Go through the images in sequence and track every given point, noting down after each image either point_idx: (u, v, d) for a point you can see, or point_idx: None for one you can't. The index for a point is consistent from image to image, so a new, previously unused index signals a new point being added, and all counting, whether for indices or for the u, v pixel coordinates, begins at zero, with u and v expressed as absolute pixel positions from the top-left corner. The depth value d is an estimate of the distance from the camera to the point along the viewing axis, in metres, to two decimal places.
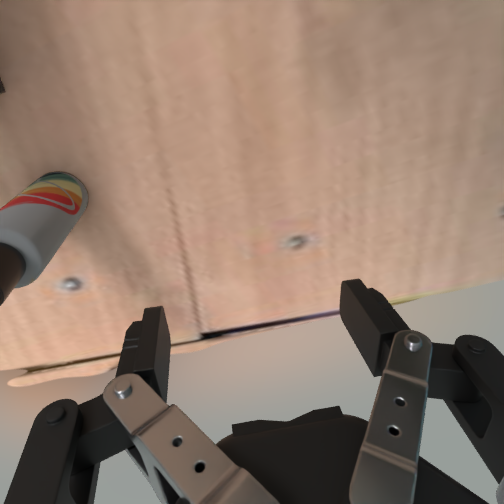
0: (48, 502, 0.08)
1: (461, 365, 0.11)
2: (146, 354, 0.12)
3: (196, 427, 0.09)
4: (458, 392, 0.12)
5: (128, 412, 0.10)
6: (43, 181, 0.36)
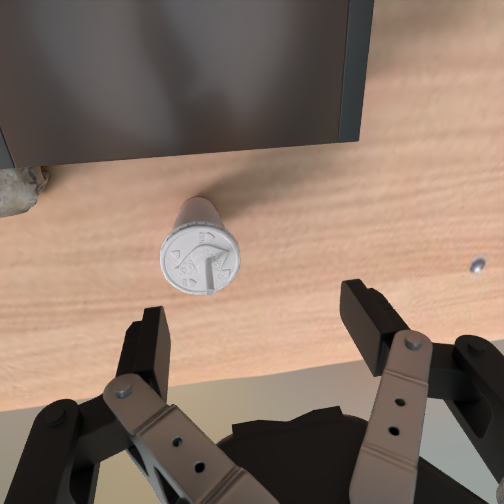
0: (48, 502, 0.08)
1: (461, 365, 0.11)
2: (146, 354, 0.12)
3: (196, 427, 0.09)
4: (458, 392, 0.12)
5: (128, 412, 0.10)
6: None
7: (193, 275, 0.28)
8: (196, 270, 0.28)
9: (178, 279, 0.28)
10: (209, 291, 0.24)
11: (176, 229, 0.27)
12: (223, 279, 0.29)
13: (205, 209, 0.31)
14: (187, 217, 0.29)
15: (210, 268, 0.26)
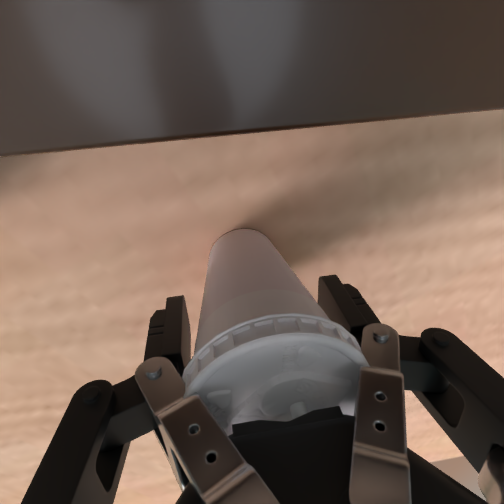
0: (74, 477, 0.09)
1: (425, 357, 0.12)
2: (172, 339, 0.13)
3: (214, 418, 0.09)
4: (424, 383, 0.12)
5: (155, 393, 0.11)
6: None
7: None
8: None
9: None
10: None
11: (221, 337, 0.10)
12: None
13: (270, 262, 0.15)
14: (239, 289, 0.13)
15: None
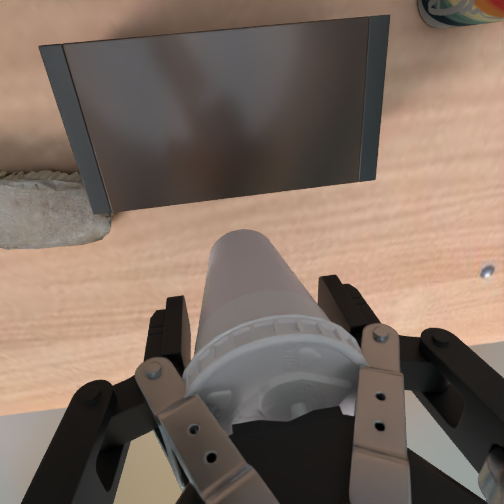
0: (74, 477, 0.09)
1: (425, 357, 0.12)
2: (172, 339, 0.13)
3: (214, 418, 0.09)
4: (424, 383, 0.12)
5: (155, 393, 0.11)
6: None
7: None
8: None
9: None
10: None
11: (221, 338, 0.10)
12: None
13: (270, 263, 0.15)
14: (239, 290, 0.13)
15: None
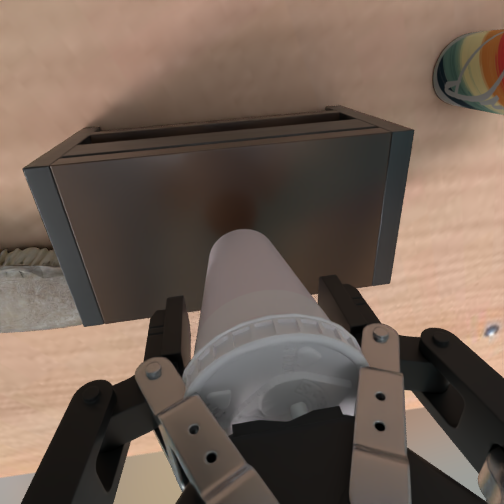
0: (74, 477, 0.09)
1: (425, 356, 0.12)
2: (172, 339, 0.13)
3: (214, 418, 0.09)
4: (424, 383, 0.12)
5: (155, 393, 0.11)
6: (462, 72, 0.27)
7: None
8: None
9: None
10: None
11: (221, 337, 0.10)
12: None
13: (270, 262, 0.15)
14: (239, 289, 0.13)
15: None
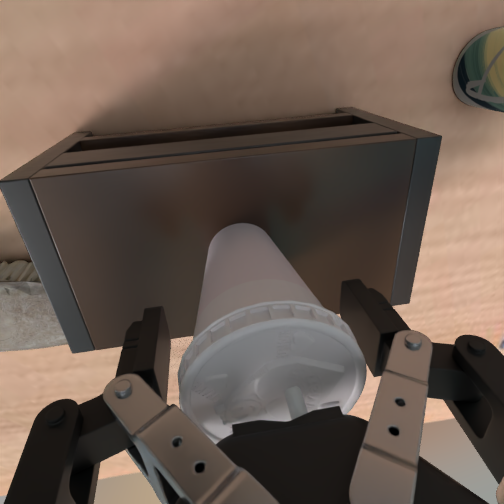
0: (48, 502, 0.08)
1: (461, 365, 0.11)
2: (146, 354, 0.12)
3: (196, 427, 0.09)
4: (458, 392, 0.12)
5: (128, 412, 0.10)
6: (487, 70, 0.25)
7: (257, 419, 0.12)
8: (265, 412, 0.12)
9: (221, 428, 0.12)
10: None
11: (218, 323, 0.11)
12: None
13: (267, 254, 0.15)
14: (236, 279, 0.13)
15: None
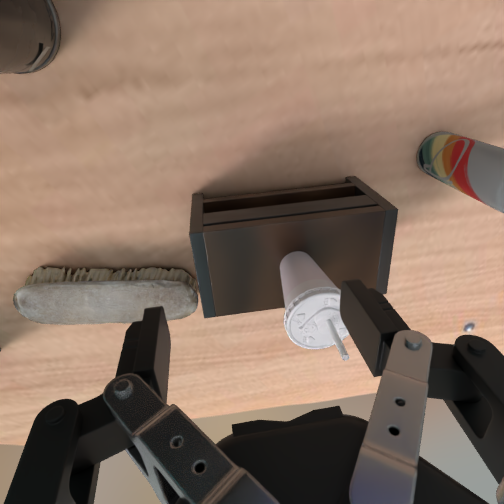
0: (48, 502, 0.08)
1: (461, 365, 0.11)
2: (146, 354, 0.12)
3: (196, 427, 0.09)
4: (458, 392, 0.12)
5: (128, 412, 0.10)
6: (432, 161, 0.44)
7: (314, 333, 0.31)
8: (317, 329, 0.31)
9: (299, 337, 0.31)
10: (344, 356, 0.27)
11: (302, 294, 0.30)
12: (339, 336, 0.32)
13: (314, 268, 0.34)
14: (304, 279, 0.32)
15: (336, 331, 0.29)
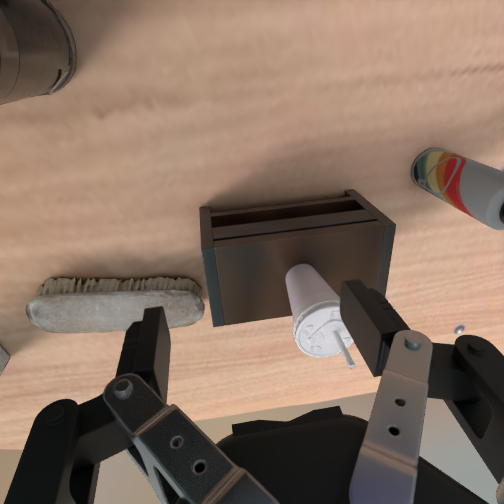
0: (48, 502, 0.08)
1: (461, 365, 0.11)
2: (146, 354, 0.12)
3: (196, 427, 0.09)
4: (458, 392, 0.12)
5: (128, 412, 0.10)
6: (426, 176, 0.46)
7: (321, 343, 0.33)
8: (324, 339, 0.33)
9: (307, 346, 0.34)
10: (350, 365, 0.29)
11: (310, 307, 0.32)
12: (343, 345, 0.34)
13: (319, 281, 0.37)
14: (310, 292, 0.35)
15: (342, 341, 0.31)
